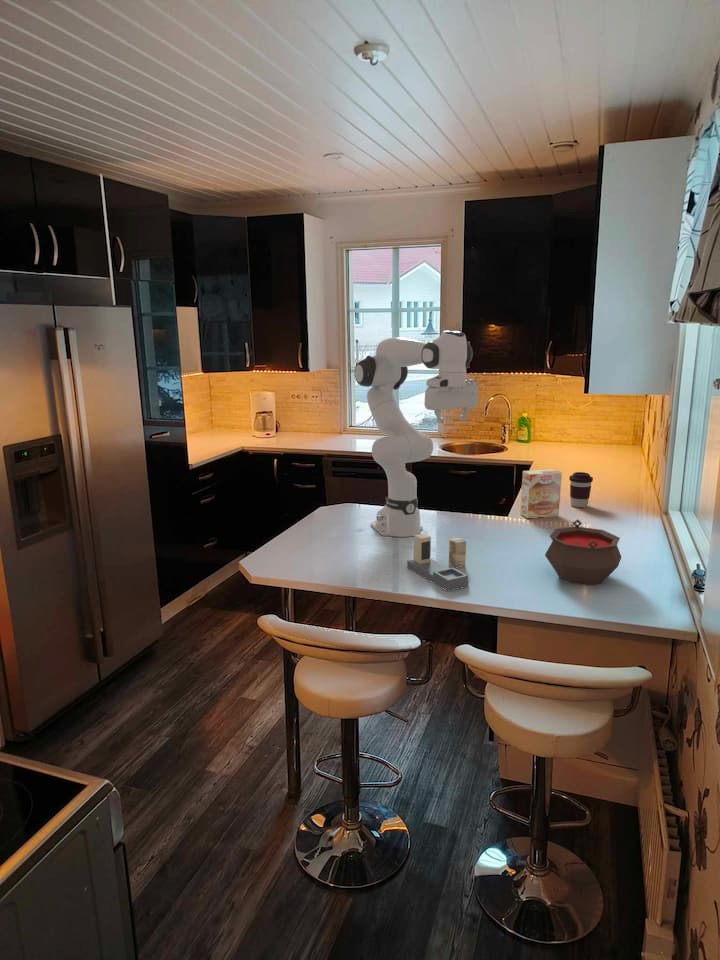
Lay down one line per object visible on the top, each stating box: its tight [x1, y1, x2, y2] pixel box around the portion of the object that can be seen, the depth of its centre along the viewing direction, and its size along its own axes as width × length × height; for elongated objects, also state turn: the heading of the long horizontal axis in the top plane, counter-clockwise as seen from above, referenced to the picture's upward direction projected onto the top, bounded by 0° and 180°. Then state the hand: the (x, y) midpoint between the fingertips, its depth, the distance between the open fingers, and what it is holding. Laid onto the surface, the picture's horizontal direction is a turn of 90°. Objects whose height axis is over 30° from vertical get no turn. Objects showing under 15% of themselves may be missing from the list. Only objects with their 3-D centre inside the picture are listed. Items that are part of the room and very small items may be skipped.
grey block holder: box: [406, 532, 469, 592], centre depth 206 cm, size 23×8×12 cm, turn 28°
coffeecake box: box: [519, 468, 563, 519], centre depth 271 cm, size 15×7×20 cm, turn 104°
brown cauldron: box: [544, 518, 622, 586], centre depth 205 cm, size 24×24×16 cm
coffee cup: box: [568, 471, 594, 508], centre depth 285 cm, size 10×10×15 cm
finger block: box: [448, 537, 467, 568], centre depth 217 cm, size 4×4×9 cm
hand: (451, 421), depth 216 cm, fingers open, 8 cm apart
